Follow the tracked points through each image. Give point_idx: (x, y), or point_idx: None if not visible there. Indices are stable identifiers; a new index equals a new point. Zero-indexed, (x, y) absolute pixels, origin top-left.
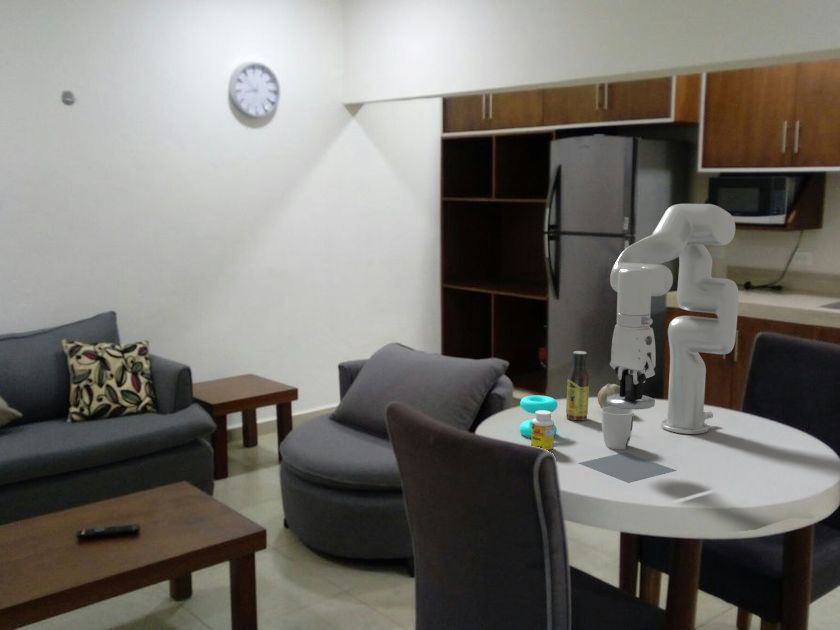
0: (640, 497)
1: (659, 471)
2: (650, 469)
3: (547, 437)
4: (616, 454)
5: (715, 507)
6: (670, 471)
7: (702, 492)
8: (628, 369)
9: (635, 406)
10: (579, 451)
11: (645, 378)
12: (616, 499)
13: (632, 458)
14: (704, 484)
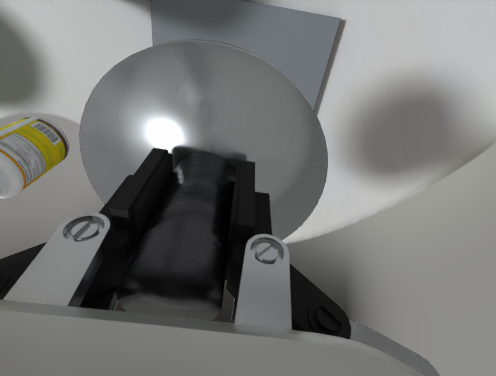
0: (336, 204)
1: (310, 68)
2: (286, 72)
3: (45, 165)
4: (153, 29)
5: (468, 157)
6: (331, 43)
7: (432, 103)
8: (73, 304)
9: (285, 237)
10: (75, 70)
11: (312, 299)
12: (311, 231)
13: (203, 25)
14: (428, 46)
